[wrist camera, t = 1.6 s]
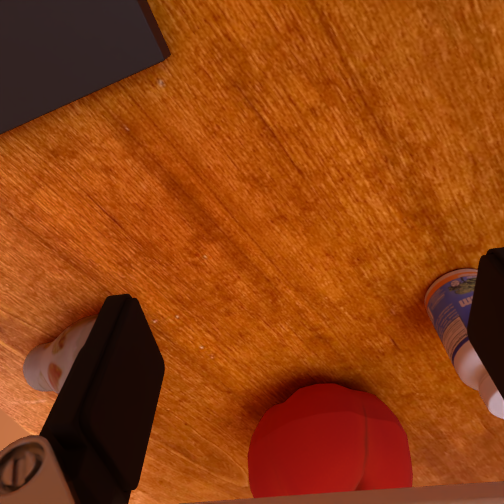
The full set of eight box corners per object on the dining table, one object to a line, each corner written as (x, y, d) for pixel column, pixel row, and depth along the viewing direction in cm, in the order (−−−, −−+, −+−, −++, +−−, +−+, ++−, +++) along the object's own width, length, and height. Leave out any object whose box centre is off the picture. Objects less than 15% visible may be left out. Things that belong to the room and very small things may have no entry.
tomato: (223, 408, 40) (213, 544, 31) (332, 335, 35) (362, 475, 25) (312, 458, 45) (328, 588, 36) (420, 402, 40) (474, 540, 30)
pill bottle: (505, 269, 30) (595, 373, 22) (476, 321, 33) (546, 429, 25) (435, 263, 30) (501, 366, 22) (412, 316, 33) (462, 424, 25)
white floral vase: (11, 331, 35) (-23, 387, 26) (118, 281, 37) (122, 315, 28) (55, 398, 37) (38, 472, 28) (153, 347, 39) (167, 399, 30)
